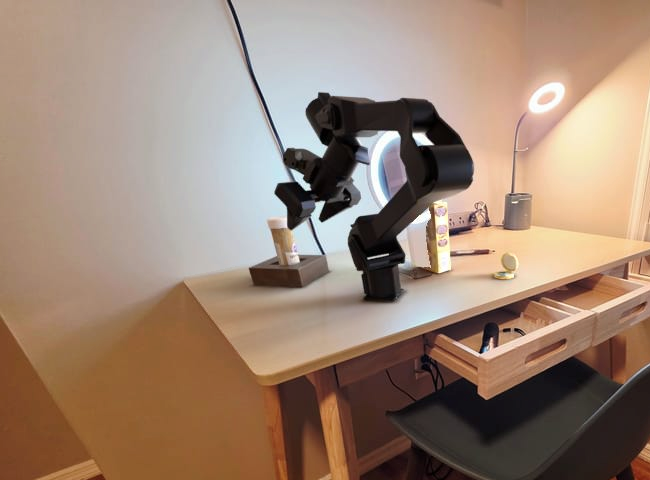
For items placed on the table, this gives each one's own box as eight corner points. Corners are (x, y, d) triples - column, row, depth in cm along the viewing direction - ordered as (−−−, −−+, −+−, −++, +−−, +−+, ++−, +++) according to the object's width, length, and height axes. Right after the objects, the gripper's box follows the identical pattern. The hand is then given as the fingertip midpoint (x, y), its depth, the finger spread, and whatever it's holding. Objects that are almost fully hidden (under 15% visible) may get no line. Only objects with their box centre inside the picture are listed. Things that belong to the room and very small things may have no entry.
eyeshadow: (490, 276, 85) (490, 255, 82) (503, 271, 88) (503, 250, 86) (506, 280, 82) (507, 258, 80) (518, 275, 86) (519, 253, 83)
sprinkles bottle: (302, 280, 86) (287, 218, 79) (281, 282, 85) (264, 220, 78) (304, 274, 90) (290, 215, 83) (284, 276, 89) (268, 216, 82)
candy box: (451, 270, 90) (448, 202, 82) (438, 274, 88) (434, 204, 80) (428, 263, 96) (423, 199, 88) (415, 267, 93) (409, 201, 85)
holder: (329, 271, 91) (325, 255, 89) (302, 287, 81) (298, 269, 79) (285, 270, 93) (281, 254, 91) (253, 285, 83) (248, 267, 81)
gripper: (339, 131, 76) (309, 190, 85) (266, 129, 61) (239, 200, 70) (377, 174, 77) (343, 227, 86) (315, 182, 62) (282, 245, 71)
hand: (305, 224), depth 79 cm, fingers open, 9 cm apart
